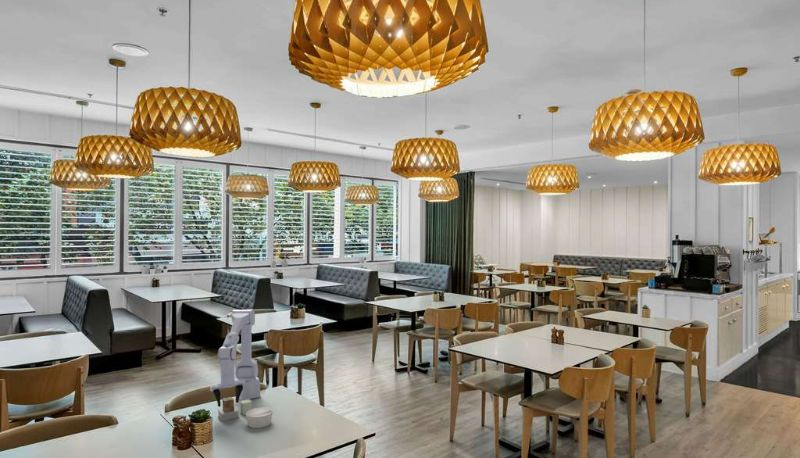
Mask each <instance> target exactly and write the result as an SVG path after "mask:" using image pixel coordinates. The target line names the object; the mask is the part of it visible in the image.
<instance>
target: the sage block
mask: <svg viewBox="0 0 800 458" xmlns="http://www.w3.org/2000/svg"><path fill="white" fill-rule="evenodd" d="M239 403H240V414H242V415H243V416H244V415H246V412H247V411H249V410H251V409H253V407H252V406H253V404H252V403H253V402H252V400H251V399H248V400H243V401H241V400H239Z"/></svg>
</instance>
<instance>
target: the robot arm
mask: <svg viewBox="0 0 800 458" xmlns="http://www.w3.org/2000/svg"><path fill="white" fill-rule="evenodd" d="M230 317H231V323H232V325H231V329H230V332H229V333H227V334H226V336H225V339H224V341H223V344H222V346H221V347H219V349H218V351H217V359H218V363H219V365H220V368H219V369H220V383H217V384H213V385H210V386H209V391H210V392H212V393H213V395H214V396H215V399H216V403H217V407H219V408H220V407H221V404H222V403H221V395H222V394H221V390H224V389H230V388H234V390H235V403H236V404H238V403H240V401H243V400H248V399H249V400H252V399H257V398H258V399H259V398H261V396H262V395H261V380H260V378H259V377H258V376H259V367H258V362H257V361H256V360H254V359H253V358H252V328H253V326H254V325H255V324H256V323H255V322H256V313H255V311H254V309H253V308H251V309H233V310H232V311H231V316H230ZM239 333H241V334H240V336H241V339H240V336H239ZM239 341H241V342H240V351H241V353H240V354H241V357H240V361H238V362H237V363H236V365H235V358H236V356H237V346H238V343H239ZM235 366H236V367H235ZM235 378H236V379H238V380H235Z"/></svg>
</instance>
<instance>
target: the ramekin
mask: <svg viewBox="0 0 800 458" xmlns="http://www.w3.org/2000/svg"><path fill="white" fill-rule="evenodd" d="M273 412H274V411H273V409H272V408H271V407H267V406H265V407H264V406H262V407H261V406H260V407H259V406H258V407H255V408H252V409H251V410H249V411H247V412H246V414H245V418H246V422H247V426H248V427H249V428H251V429H262V428H265V427H268V426H269V425H270V424H271V423H272V420H273V419H272V418H273V417H272V416H273Z"/></svg>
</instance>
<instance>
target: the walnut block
mask: <svg viewBox="0 0 800 458" xmlns="http://www.w3.org/2000/svg"><path fill="white" fill-rule="evenodd" d="M221 400H222V401H221V402H222V403H221V404H222V409H223V411H224V412H230V411H234V406H235V399H234V397H233V396H227V397H223V398H222V399H221Z"/></svg>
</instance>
